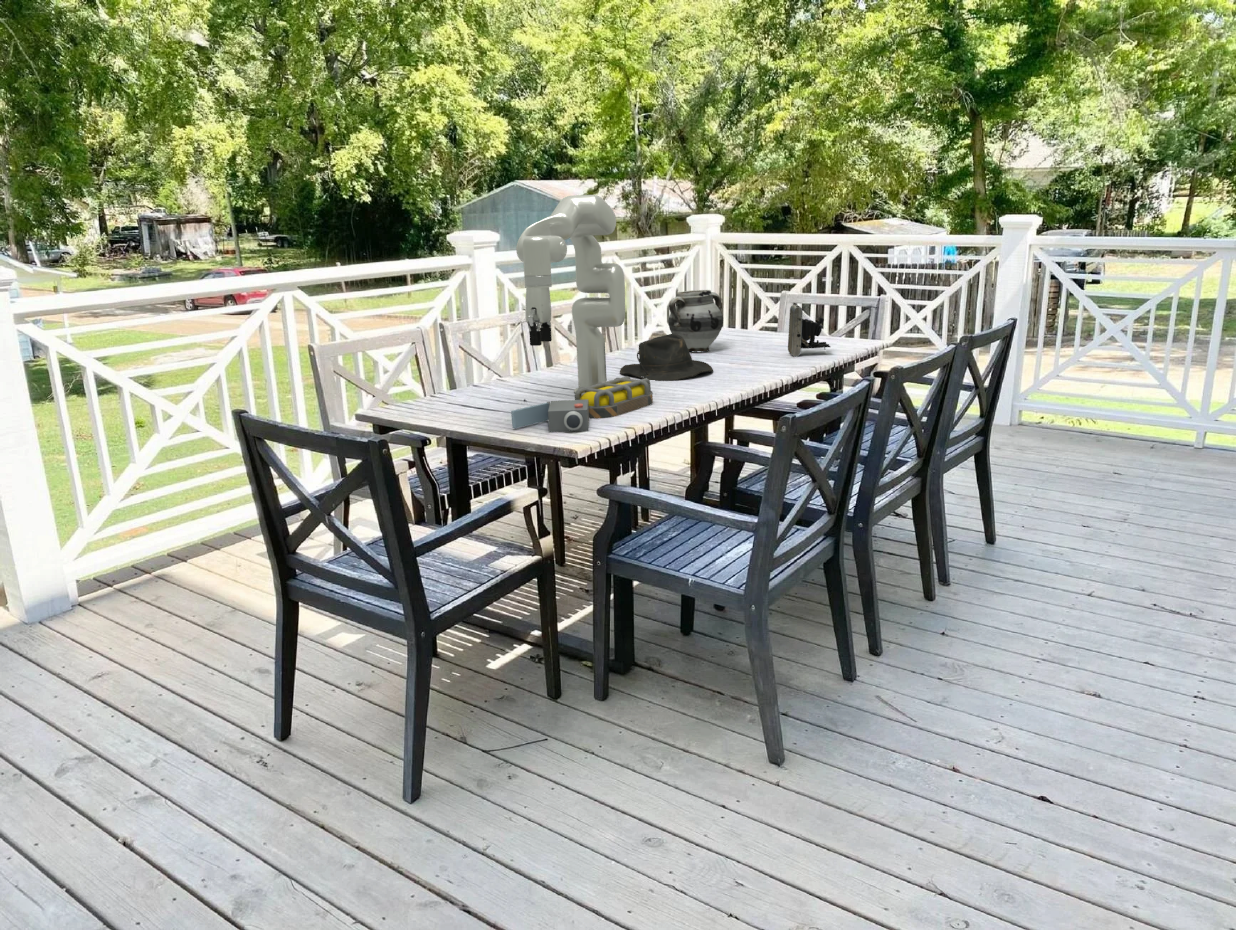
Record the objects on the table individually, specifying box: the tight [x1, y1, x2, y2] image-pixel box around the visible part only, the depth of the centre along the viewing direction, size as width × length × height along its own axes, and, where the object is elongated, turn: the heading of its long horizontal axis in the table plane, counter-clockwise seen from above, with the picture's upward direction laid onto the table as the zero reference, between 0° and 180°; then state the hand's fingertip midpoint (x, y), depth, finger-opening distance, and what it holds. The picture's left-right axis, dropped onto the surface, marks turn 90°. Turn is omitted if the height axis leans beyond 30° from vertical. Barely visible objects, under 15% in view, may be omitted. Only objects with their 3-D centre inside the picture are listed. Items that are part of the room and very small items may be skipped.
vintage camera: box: [787, 303, 831, 357], centre depth 366 cm, size 10×16×20 cm, turn 89°
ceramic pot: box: [667, 289, 724, 352], centre depth 384 cm, size 29×23×25 cm
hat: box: [619, 333, 714, 382], centre depth 341 cm, size 32×35×14 cm
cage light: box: [574, 375, 654, 420], centre depth 287 cm, size 15×8×30 cm
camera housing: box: [547, 399, 590, 433], centre depth 266 cm, size 16×11×7 cm
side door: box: [510, 401, 551, 429], centre depth 269 cm, size 14×1×5 cm, turn 136°
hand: (541, 343), depth 263 cm, fingers open, 9 cm apart
